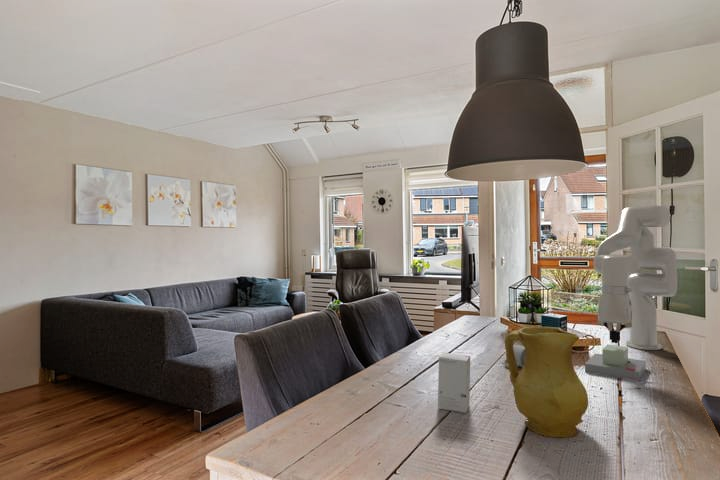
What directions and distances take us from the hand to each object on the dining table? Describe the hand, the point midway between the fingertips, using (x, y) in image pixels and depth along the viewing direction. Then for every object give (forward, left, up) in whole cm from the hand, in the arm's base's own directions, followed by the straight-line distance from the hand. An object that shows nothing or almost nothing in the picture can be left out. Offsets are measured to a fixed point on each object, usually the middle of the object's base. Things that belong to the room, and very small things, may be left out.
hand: (614, 342), depth 149 cm
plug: (0, 0, -10) cm, 10 cm away
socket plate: (0, 0, -10) cm, 10 cm away
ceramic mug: (+15, -28, -11) cm, 34 cm away
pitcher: (+59, -5, -10) cm, 60 cm away
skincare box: (+64, -29, -11) cm, 71 cm away
